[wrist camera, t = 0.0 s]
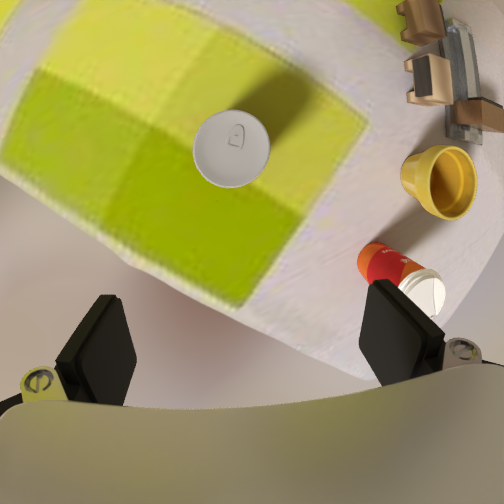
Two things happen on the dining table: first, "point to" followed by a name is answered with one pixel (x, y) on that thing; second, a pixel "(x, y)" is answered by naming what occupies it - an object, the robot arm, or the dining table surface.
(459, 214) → the plant pot
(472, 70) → the rail
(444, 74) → the tan notched block
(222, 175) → the canned food
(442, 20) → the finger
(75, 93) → the dining table surface
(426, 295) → the coffee cup
